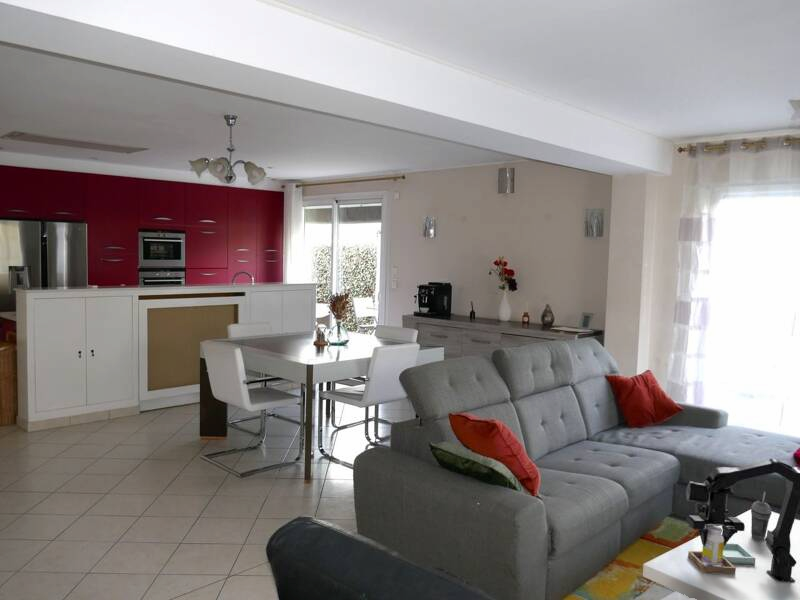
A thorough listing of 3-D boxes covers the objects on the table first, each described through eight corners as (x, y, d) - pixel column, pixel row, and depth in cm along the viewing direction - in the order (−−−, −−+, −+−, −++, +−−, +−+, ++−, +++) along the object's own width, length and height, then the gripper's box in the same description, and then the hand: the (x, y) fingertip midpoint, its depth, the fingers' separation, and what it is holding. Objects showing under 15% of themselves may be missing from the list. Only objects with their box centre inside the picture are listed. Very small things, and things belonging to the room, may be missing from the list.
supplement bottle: (719, 559, 233) (723, 525, 232) (723, 568, 227) (727, 533, 226) (699, 556, 235) (703, 522, 234) (703, 564, 229) (706, 530, 227)
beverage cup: (763, 535, 259) (768, 488, 258) (771, 543, 252) (777, 495, 250) (744, 533, 260) (749, 486, 258) (752, 541, 253) (758, 493, 251)
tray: (754, 564, 234) (755, 558, 234) (724, 563, 234) (725, 556, 233) (737, 549, 245) (738, 543, 245) (708, 548, 245) (709, 542, 245)
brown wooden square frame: (735, 574, 226) (735, 568, 225) (703, 573, 225) (704, 566, 225) (718, 558, 237) (718, 552, 237) (687, 557, 237) (688, 551, 236)
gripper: (730, 496, 237) (726, 536, 239) (681, 494, 237) (677, 534, 238) (747, 508, 226) (743, 550, 228) (696, 506, 226) (691, 548, 227)
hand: (713, 545), depth 230 cm, fingers closed on supplement bottle, 7 cm apart
